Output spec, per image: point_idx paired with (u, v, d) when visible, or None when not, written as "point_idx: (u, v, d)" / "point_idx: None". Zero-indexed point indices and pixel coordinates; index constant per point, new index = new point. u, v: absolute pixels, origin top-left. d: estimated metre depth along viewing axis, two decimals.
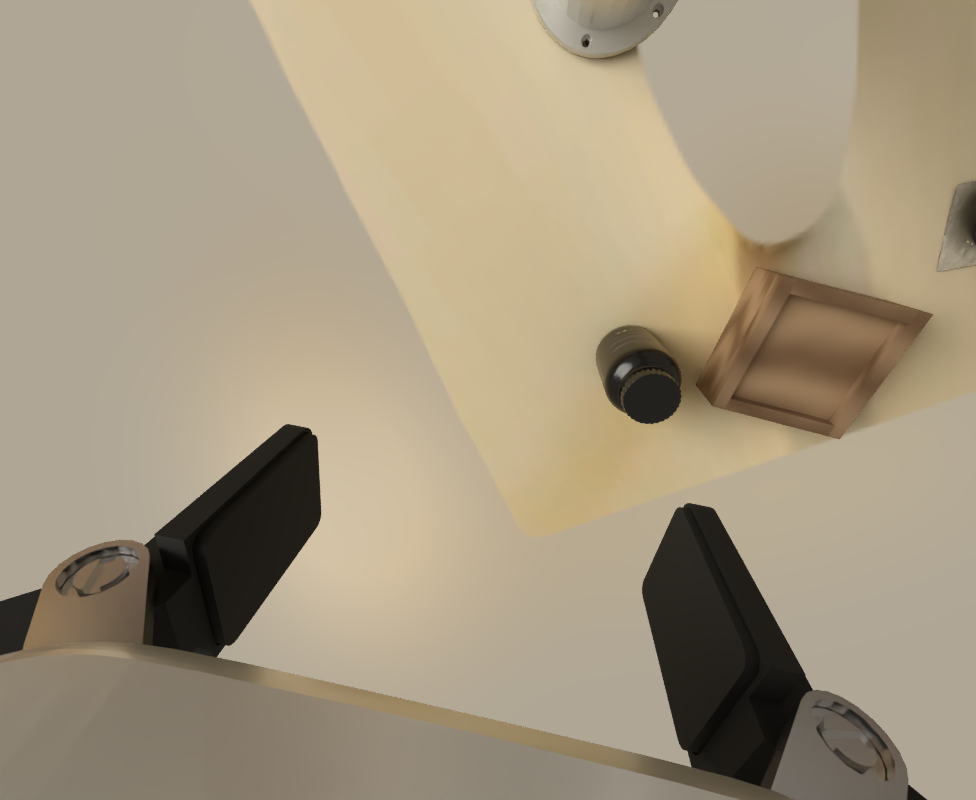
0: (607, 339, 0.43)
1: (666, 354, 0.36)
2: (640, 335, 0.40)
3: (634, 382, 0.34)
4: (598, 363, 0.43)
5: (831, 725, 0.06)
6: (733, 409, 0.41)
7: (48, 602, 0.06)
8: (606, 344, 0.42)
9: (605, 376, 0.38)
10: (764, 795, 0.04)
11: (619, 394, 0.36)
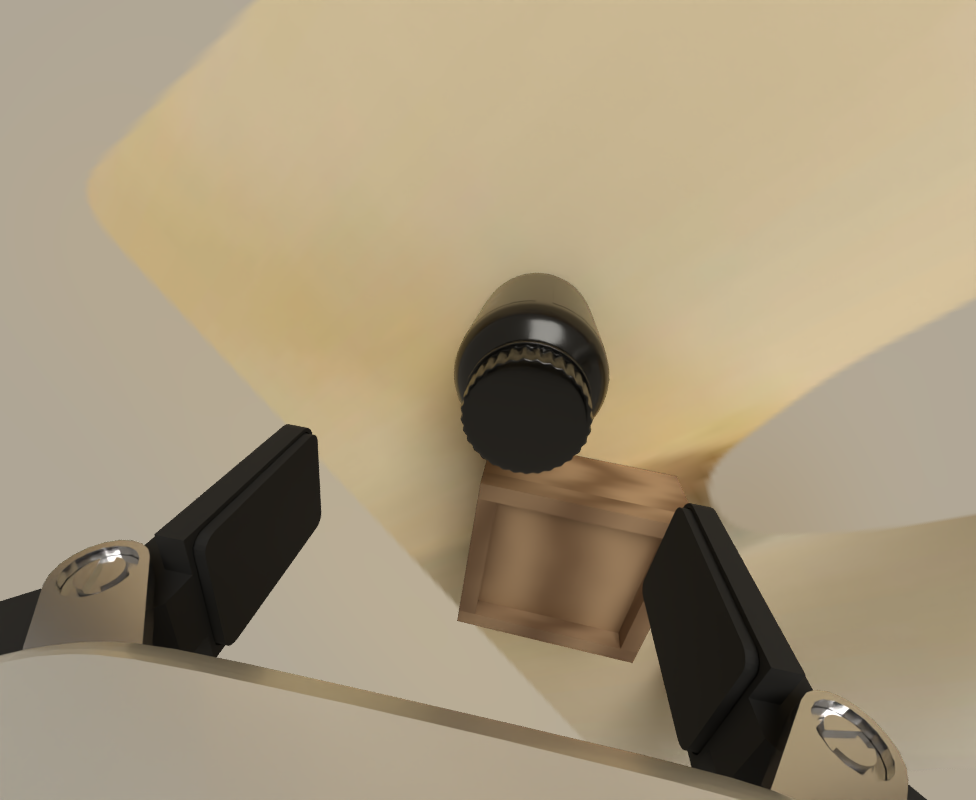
0: (573, 289, 0.22)
1: (596, 413, 0.18)
2: None
3: (567, 377, 0.14)
4: (529, 280, 0.21)
5: (831, 725, 0.06)
6: (479, 509, 0.25)
7: (48, 602, 0.06)
8: (568, 288, 0.21)
9: (536, 302, 0.17)
10: (764, 795, 0.04)
11: (517, 345, 0.15)
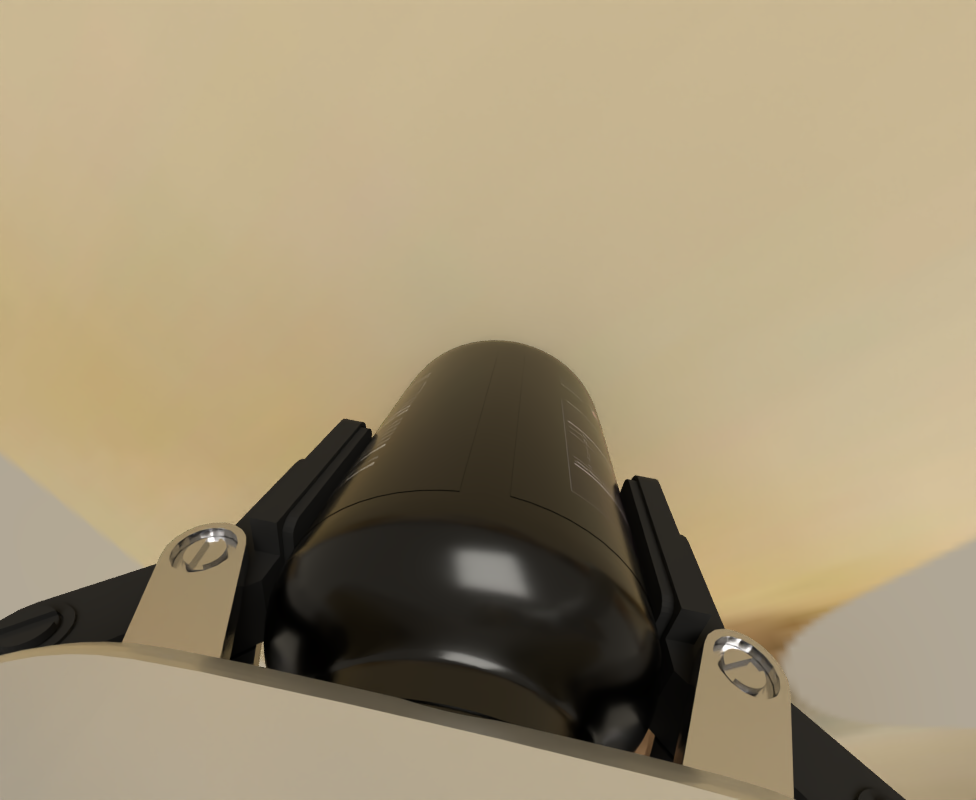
0: (563, 380, 0.11)
1: None
2: None
3: None
4: (474, 371, 0.10)
5: (729, 658, 0.07)
6: None
7: (167, 576, 0.06)
8: (554, 384, 0.11)
9: (459, 499, 0.06)
10: (764, 795, 0.04)
11: None
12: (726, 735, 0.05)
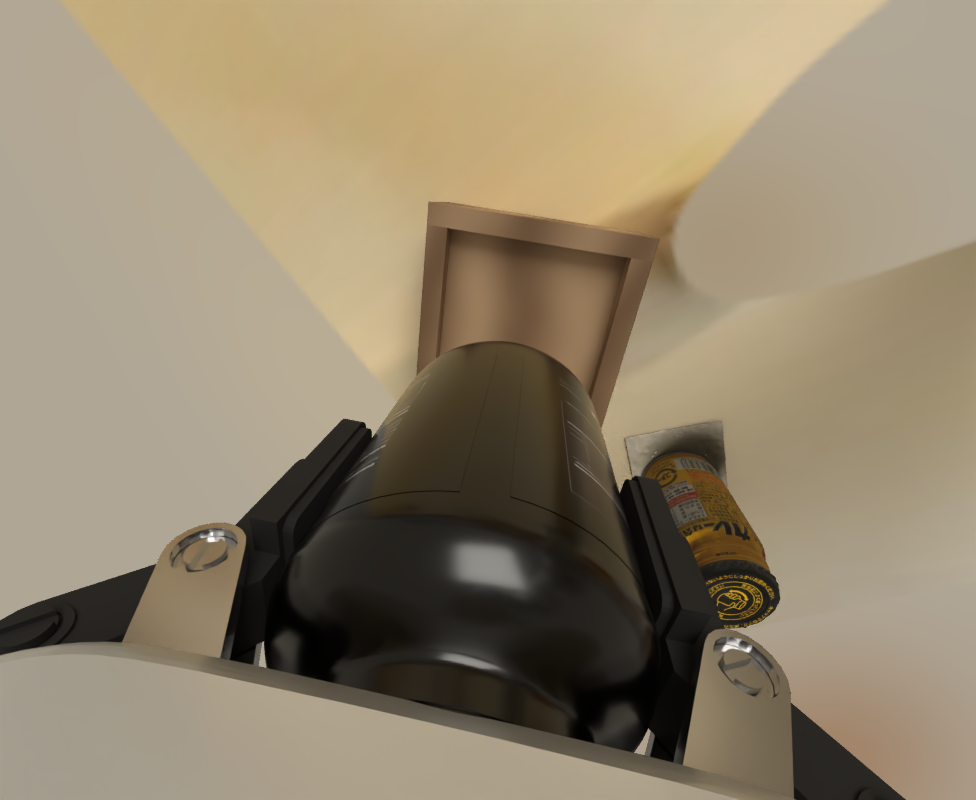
0: (563, 380, 0.11)
1: None
2: None
3: None
4: (473, 371, 0.10)
5: (729, 658, 0.07)
6: (429, 240, 0.24)
7: (167, 576, 0.06)
8: (554, 384, 0.11)
9: (459, 500, 0.06)
10: (764, 795, 0.04)
11: None
12: (726, 735, 0.05)
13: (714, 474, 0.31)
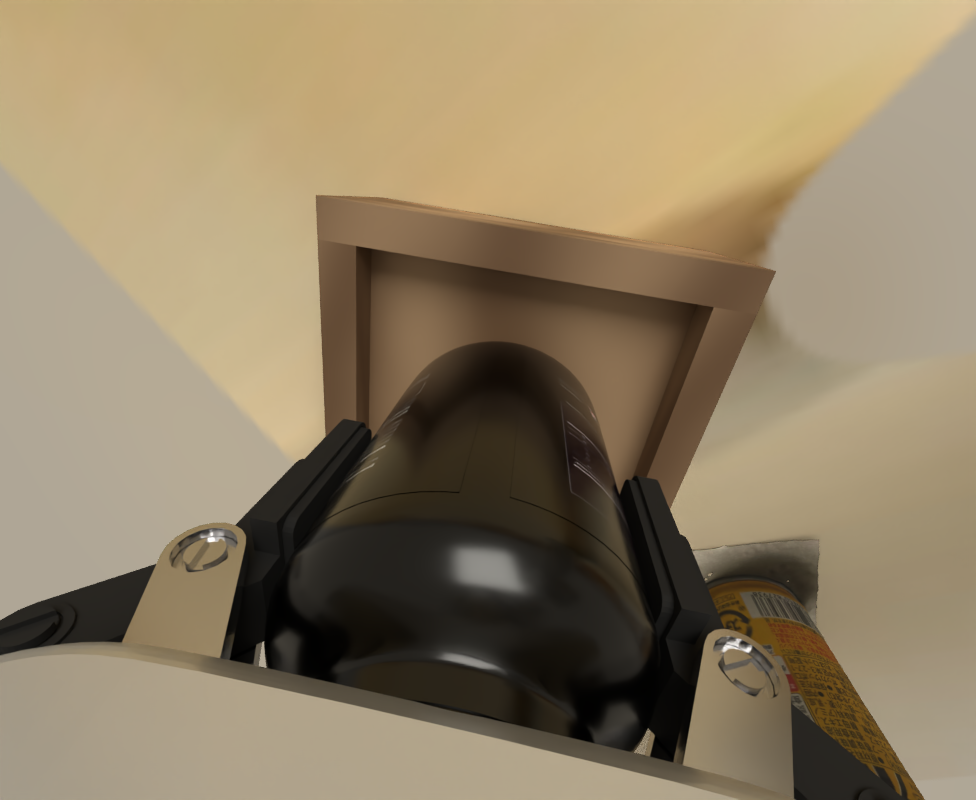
0: (562, 380, 0.11)
1: None
2: None
3: None
4: (473, 372, 0.10)
5: (729, 658, 0.07)
6: (325, 269, 0.13)
7: (167, 576, 0.06)
8: (554, 384, 0.11)
9: (459, 500, 0.06)
10: (764, 795, 0.04)
11: None
12: (726, 735, 0.05)
13: (809, 626, 0.20)
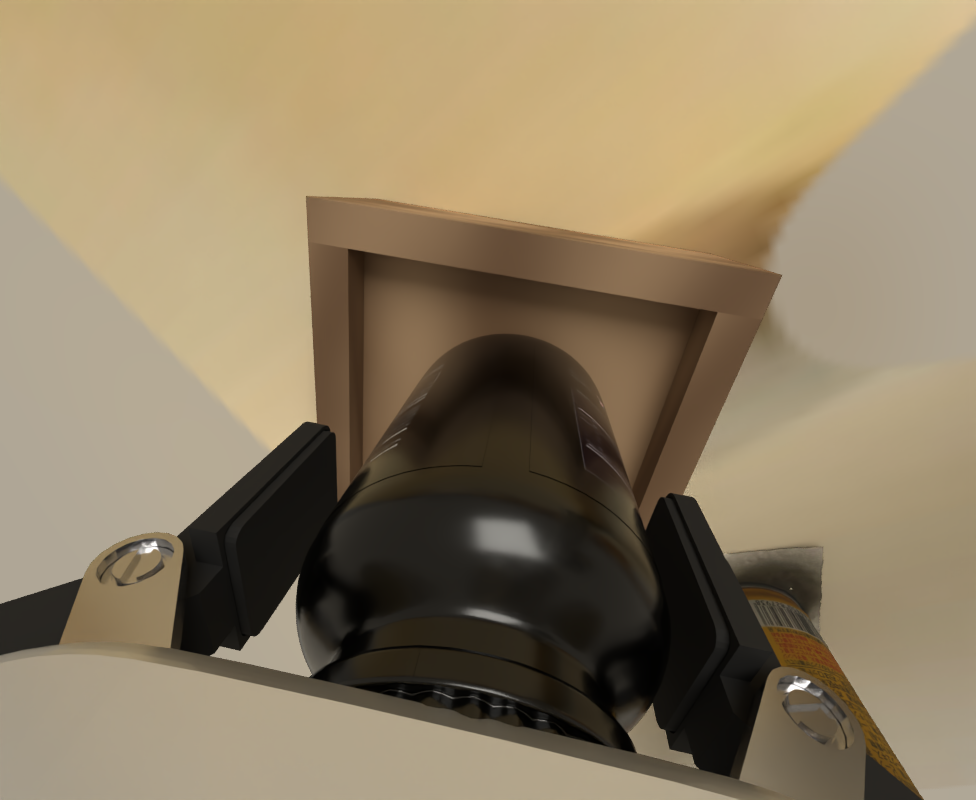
0: (572, 370, 0.12)
1: None
2: None
3: None
4: (487, 361, 0.11)
5: (795, 699, 0.06)
6: (316, 272, 0.12)
7: (91, 591, 0.06)
8: (564, 374, 0.11)
9: (482, 473, 0.06)
10: (764, 795, 0.04)
11: (402, 687, 0.04)
12: (805, 794, 0.05)
13: (814, 636, 0.19)
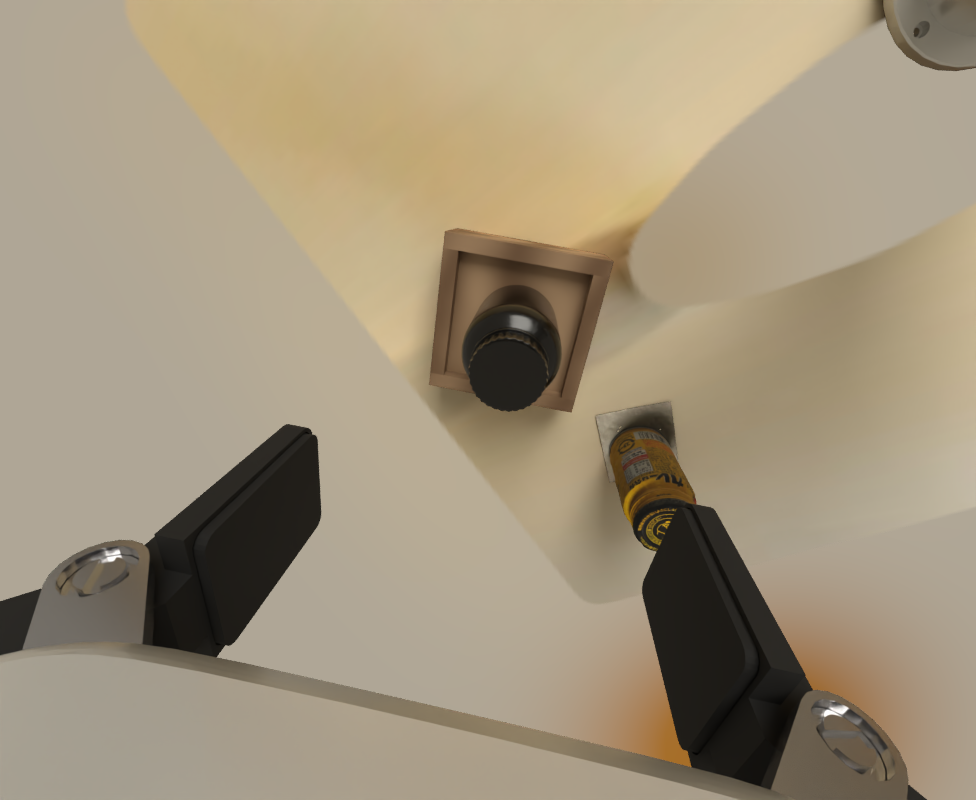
0: (541, 296, 0.32)
1: (554, 377, 0.27)
2: None
3: (532, 349, 0.23)
4: (511, 290, 0.31)
5: (831, 725, 0.06)
6: (444, 259, 0.32)
7: (48, 602, 0.06)
8: (537, 296, 0.31)
9: (514, 304, 0.26)
10: (764, 795, 0.04)
11: (502, 330, 0.24)
12: None
13: (664, 443, 0.39)
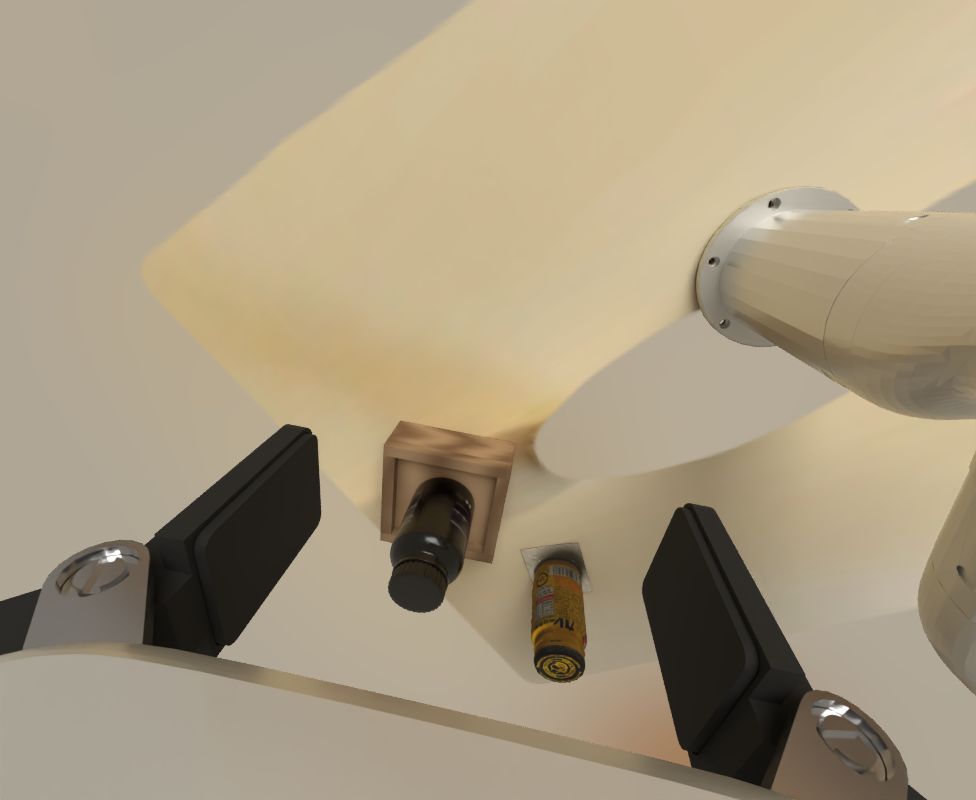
0: (458, 493, 0.41)
1: None
2: (469, 530, 0.40)
3: (429, 580, 0.33)
4: (433, 493, 0.40)
5: (831, 725, 0.06)
6: (385, 462, 0.42)
7: (48, 602, 0.06)
8: (454, 495, 0.41)
9: (425, 529, 0.36)
10: (764, 795, 0.04)
11: (412, 559, 0.34)
12: None
13: (572, 578, 0.49)
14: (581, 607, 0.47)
